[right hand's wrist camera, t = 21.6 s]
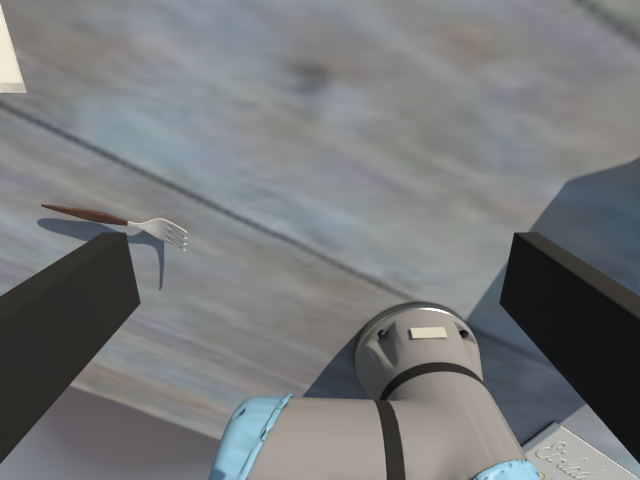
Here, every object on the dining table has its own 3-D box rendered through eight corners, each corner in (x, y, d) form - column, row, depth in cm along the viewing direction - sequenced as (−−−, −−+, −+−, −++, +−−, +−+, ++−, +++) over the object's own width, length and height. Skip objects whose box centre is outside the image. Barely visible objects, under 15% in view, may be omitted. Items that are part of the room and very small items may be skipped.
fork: (44, 192, 39) (30, 197, 37) (193, 224, 40) (187, 230, 38) (45, 214, 40) (31, 220, 38) (191, 245, 41) (185, 252, 39)
